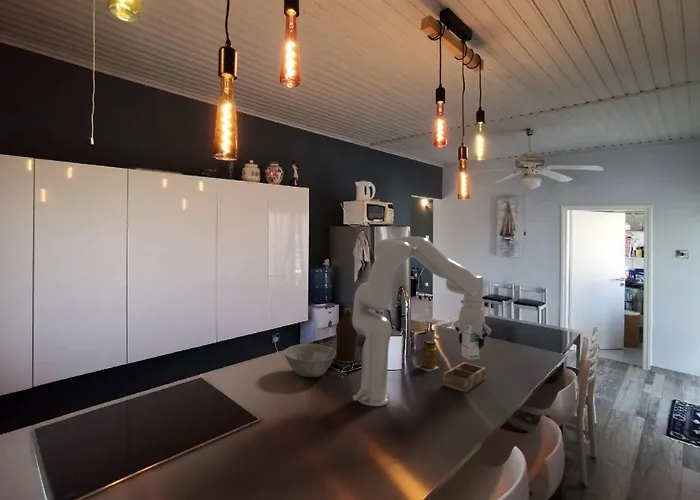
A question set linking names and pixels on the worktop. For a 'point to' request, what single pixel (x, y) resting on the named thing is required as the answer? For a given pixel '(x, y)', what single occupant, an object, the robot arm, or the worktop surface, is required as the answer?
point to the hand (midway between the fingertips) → (471, 344)
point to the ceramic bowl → (310, 359)
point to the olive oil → (346, 338)
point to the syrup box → (470, 344)
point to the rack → (464, 377)
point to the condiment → (428, 356)
